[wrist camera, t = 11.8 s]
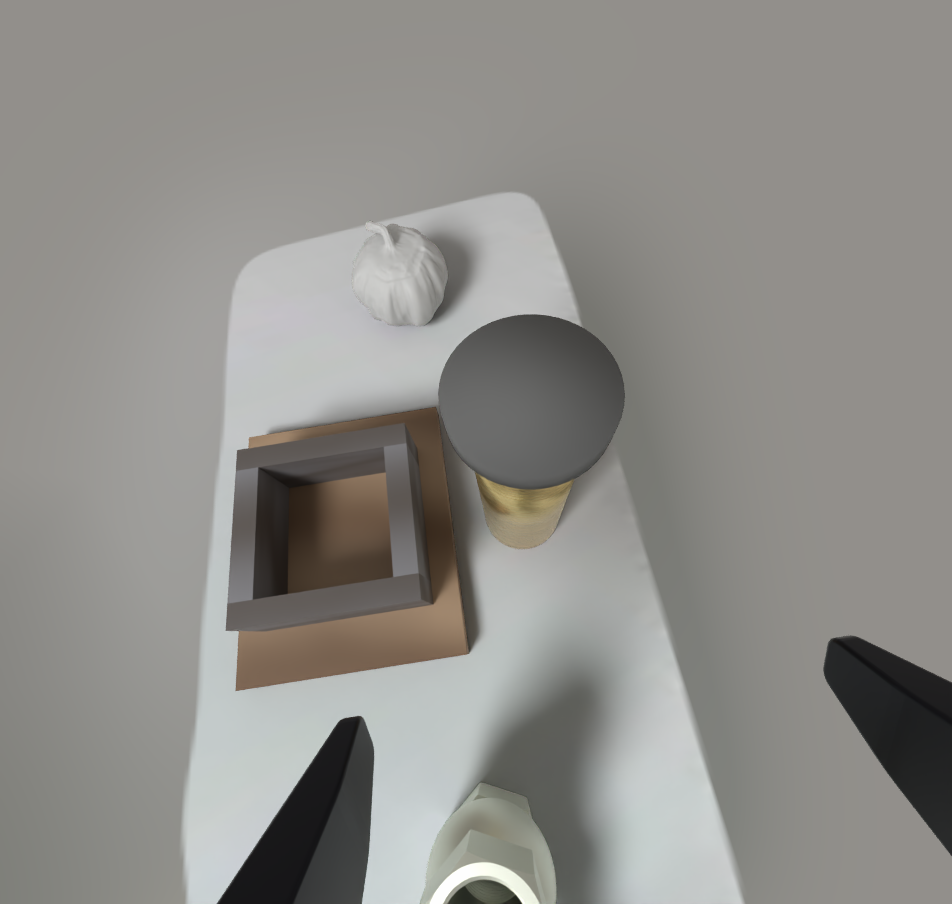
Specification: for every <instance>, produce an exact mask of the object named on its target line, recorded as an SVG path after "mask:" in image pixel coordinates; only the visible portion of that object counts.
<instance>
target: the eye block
mask: <svg viewBox="0 0 952 904" xmlns="http://www.w3.org/2000/svg"><path fill="white" fill-rule="evenodd" d="M226 631H239V638H238V656H237V675H236V691H238V690H245V689H251V688H257V687H264V686H270V685H276V684H283V683H289V682H295V681H302V680H308V679H314V678H321V677H327V676H333V675H339V674H346V673H352V672H358V671H365V670H371V669H377V668H384V667H390V666H396V665H403V664H409V663H415V662H422V661H428V660H434V659H441V658H447V657H453V656H460V655H466V654H469V649H468V641H467V633H466V625H465V618H464V610H463V602H462V594H461V586H460V578H459V571H458V563H457V555H456V547H455V539H454V532H453V524H452V516H451V508H450V500H449V493H448V485H447V477H446V469H445V461H444V454H443V446H442V438H441V430H440V422H439V415H438V412H437V409H436V407H432V408H426V409H420V410H414V411H408V412H402V413H396V414H390V415H383V416H377V417H371V418H365V419H359V420H353V421H347V422H341V423H335V424H329V425H323V426H317V427H310V428H304V429H298V430H292V431H286V432H280V433H274V434H268V435H262V436H256V437H250V438H249V448H248V449H242V450H237V461H236V477H235V493H234V509H233V524H232V540H231V556H230V572H229V588H228V603H227V619H226Z"/></svg>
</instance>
